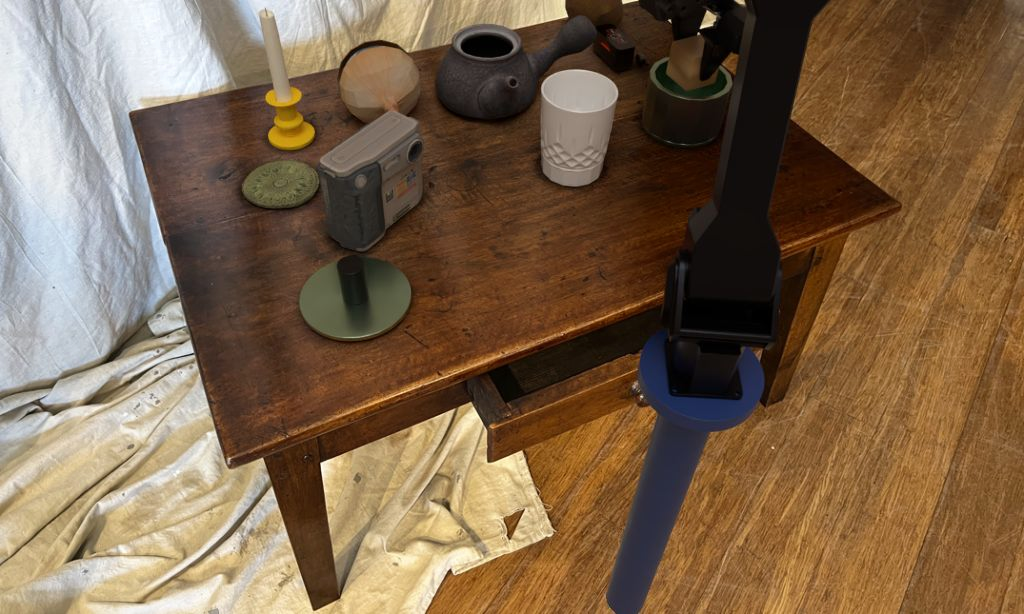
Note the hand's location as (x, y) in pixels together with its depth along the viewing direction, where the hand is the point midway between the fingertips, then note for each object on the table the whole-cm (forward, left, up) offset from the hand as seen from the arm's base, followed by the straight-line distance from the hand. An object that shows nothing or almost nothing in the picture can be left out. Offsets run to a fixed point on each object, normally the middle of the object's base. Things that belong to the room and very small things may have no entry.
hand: (692, 70), depth 89 cm
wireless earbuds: (+14, +7, -7) cm, 17 cm away
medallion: (-15, +44, -7) cm, 47 cm away
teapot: (+3, +20, -8) cm, 22 cm away
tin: (0, 0, -7) cm, 7 cm away
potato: (+23, +6, -2) cm, 24 cm away
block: (0, 0, -1) cm, 1 cm away
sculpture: (-2, +35, -8) cm, 36 cm away
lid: (-31, +33, -7) cm, 46 cm away
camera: (-19, +33, -8) cm, 39 cm away
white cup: (-9, +13, -8) cm, 18 cm away
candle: (-6, +45, -8) cm, 46 cm away
